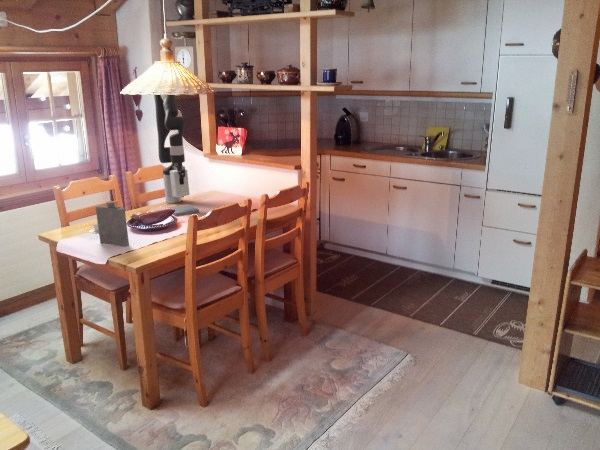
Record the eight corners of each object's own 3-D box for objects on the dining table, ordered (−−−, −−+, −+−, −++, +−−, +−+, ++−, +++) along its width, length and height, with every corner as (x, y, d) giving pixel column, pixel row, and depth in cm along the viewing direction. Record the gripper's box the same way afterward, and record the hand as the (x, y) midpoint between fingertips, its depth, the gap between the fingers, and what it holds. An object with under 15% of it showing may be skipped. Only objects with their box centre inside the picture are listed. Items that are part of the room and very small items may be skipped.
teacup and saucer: (110, 230, 267) (109, 223, 266) (96, 234, 261) (95, 226, 260) (99, 228, 272) (98, 220, 271) (86, 232, 266) (84, 224, 265)
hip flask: (98, 243, 247) (93, 201, 241) (105, 240, 250) (99, 199, 245) (125, 246, 241) (120, 204, 235) (131, 244, 244) (126, 202, 239)
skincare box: (185, 193, 303) (182, 168, 299) (190, 195, 298) (187, 169, 294) (171, 196, 298) (169, 170, 293) (176, 197, 293) (174, 171, 289)
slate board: (165, 210, 303) (165, 207, 303) (188, 206, 310) (188, 204, 310) (175, 216, 290) (175, 213, 290) (199, 212, 297) (199, 209, 297)
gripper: (166, 152, 295) (169, 182, 300) (175, 155, 283) (177, 186, 288) (179, 151, 299) (181, 180, 304) (188, 154, 287) (191, 184, 292)
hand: (179, 183), depth 296 cm, fingers closed on skincare box, 6 cm apart
